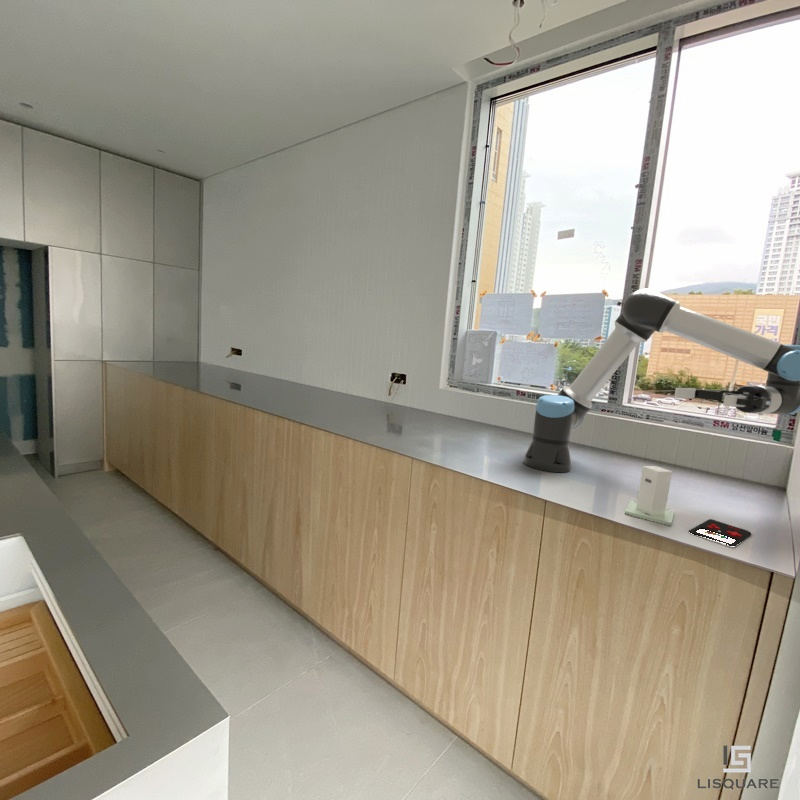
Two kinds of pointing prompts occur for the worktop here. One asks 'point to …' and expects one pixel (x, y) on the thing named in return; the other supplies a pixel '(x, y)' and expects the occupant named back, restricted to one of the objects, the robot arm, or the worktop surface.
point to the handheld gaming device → (722, 531)
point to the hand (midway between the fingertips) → (699, 396)
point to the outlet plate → (662, 518)
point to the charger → (653, 490)
